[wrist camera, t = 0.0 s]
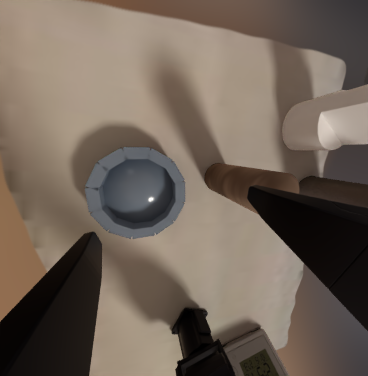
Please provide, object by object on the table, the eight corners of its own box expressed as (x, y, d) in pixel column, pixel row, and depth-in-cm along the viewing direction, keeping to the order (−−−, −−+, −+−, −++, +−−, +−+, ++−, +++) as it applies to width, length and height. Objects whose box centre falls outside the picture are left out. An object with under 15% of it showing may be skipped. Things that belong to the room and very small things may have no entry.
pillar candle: (312, 167, 33) (440, 179, 19) (325, 194, 36) (441, 221, 22) (284, 198, 32) (391, 234, 18) (299, 222, 36) (400, 267, 22)
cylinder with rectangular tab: (321, 122, 30) (428, 105, 19) (297, 158, 31) (388, 162, 20) (301, 91, 27) (415, 49, 16) (274, 132, 27) (367, 120, 16)
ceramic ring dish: (158, 237, 25) (160, 247, 23) (77, 211, 20) (68, 220, 18) (193, 173, 24) (200, 175, 22) (117, 129, 20) (113, 126, 17)
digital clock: (264, 324, 43) (301, 376, 33) (257, 346, 44) (290, 402, 35) (216, 339, 37) (244, 406, 28) (210, 364, 39) (234, 435, 29)
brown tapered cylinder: (220, 194, 27) (282, 227, 15) (199, 183, 25) (251, 210, 14) (233, 171, 27) (306, 186, 15) (213, 158, 25) (279, 163, 13)
